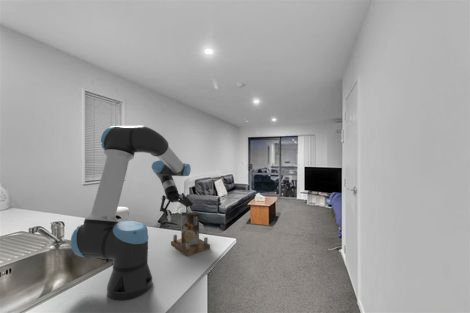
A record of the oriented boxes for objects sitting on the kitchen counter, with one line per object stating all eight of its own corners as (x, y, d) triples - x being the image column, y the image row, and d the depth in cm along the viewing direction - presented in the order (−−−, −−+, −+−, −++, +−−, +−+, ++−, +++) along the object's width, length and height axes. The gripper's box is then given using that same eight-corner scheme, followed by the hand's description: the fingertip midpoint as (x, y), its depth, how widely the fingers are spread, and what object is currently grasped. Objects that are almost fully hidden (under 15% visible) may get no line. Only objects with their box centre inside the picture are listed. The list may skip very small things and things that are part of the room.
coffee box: (197, 240, 122) (198, 211, 122) (199, 244, 116) (199, 214, 116) (180, 241, 120) (181, 212, 119) (181, 246, 113) (181, 215, 113)
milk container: (131, 234, 134) (131, 205, 134) (129, 245, 118) (129, 212, 118) (98, 238, 127) (98, 207, 127) (91, 250, 111) (92, 215, 111)
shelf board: (186, 256, 107) (186, 245, 107) (170, 244, 120) (171, 234, 120) (209, 248, 116) (210, 238, 116) (193, 238, 129) (193, 229, 129)
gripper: (186, 190, 147) (197, 218, 136) (148, 194, 131) (158, 226, 119) (190, 183, 143) (202, 211, 132) (151, 186, 127) (162, 218, 115)
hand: (181, 218), depth 126 cm, fingers open, 13 cm apart
